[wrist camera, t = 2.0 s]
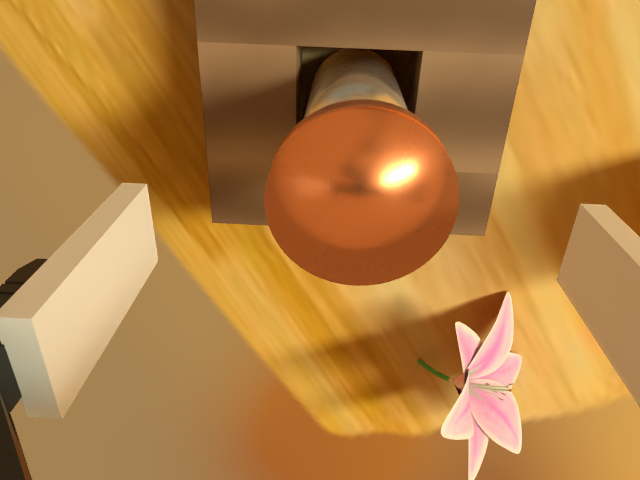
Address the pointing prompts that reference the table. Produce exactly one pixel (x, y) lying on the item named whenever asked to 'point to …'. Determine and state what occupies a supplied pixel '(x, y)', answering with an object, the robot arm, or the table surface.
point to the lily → (485, 390)
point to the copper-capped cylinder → (360, 178)
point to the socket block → (366, 33)
